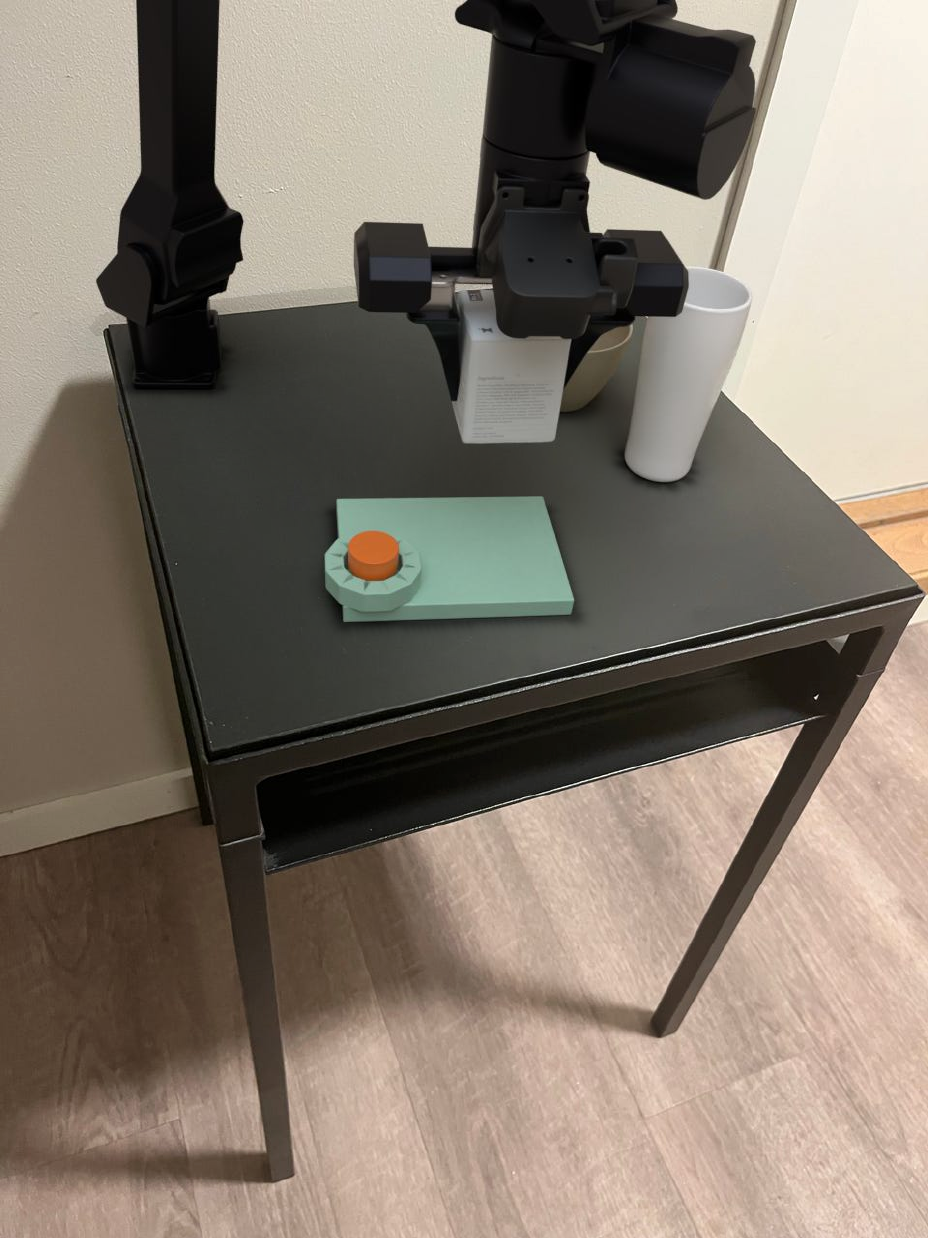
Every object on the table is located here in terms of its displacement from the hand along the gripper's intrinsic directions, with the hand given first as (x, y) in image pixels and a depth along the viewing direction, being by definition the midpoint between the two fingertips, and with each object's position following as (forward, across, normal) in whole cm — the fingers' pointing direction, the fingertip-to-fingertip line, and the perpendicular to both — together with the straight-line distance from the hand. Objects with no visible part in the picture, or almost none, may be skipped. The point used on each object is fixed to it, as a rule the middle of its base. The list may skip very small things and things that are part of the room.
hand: (502, 397), depth 61 cm
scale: (+11, -3, -3) cm, 12 cm away
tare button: (+9, -8, -6) cm, 13 cm away
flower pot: (+11, +9, +18) cm, 23 cm away
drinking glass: (+11, +15, +8) cm, 20 cm away
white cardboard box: (+2, 0, 0) cm, 2 cm away
